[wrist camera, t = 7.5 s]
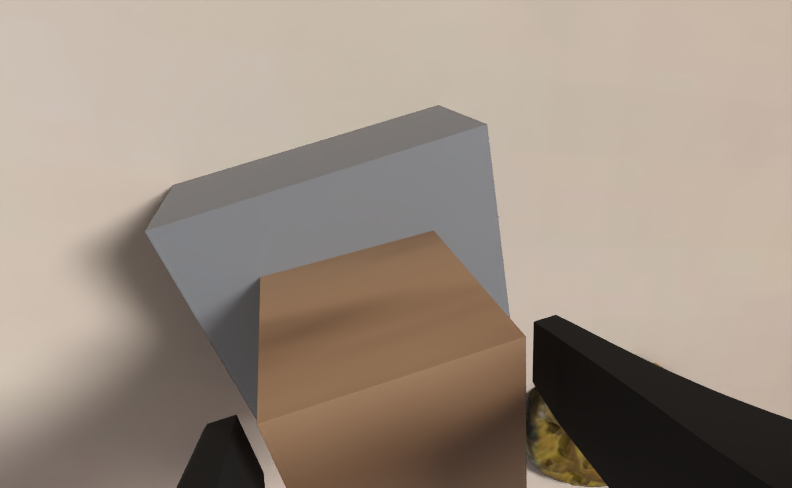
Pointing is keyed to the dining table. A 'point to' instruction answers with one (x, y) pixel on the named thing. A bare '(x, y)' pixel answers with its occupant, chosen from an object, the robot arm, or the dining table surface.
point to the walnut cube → (390, 373)
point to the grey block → (326, 219)
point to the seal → (556, 448)
